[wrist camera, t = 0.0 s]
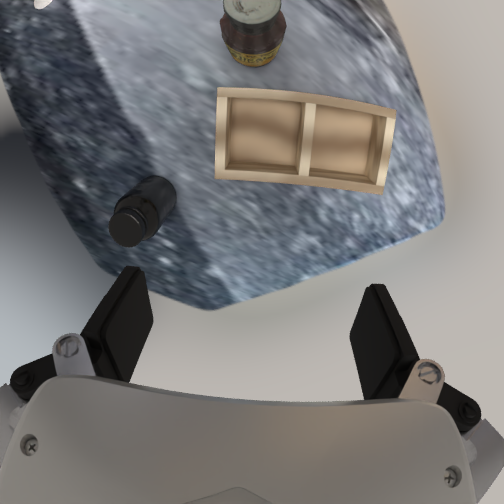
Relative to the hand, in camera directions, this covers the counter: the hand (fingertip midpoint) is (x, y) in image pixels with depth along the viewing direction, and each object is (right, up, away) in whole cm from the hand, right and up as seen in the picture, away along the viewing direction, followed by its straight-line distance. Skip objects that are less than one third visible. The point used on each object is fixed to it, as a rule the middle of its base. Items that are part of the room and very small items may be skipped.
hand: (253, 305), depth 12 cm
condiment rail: (+7, +18, +25) cm, 32 cm away
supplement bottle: (-15, +11, +31) cm, 36 cm away
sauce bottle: (0, +29, +19) cm, 35 cm away
